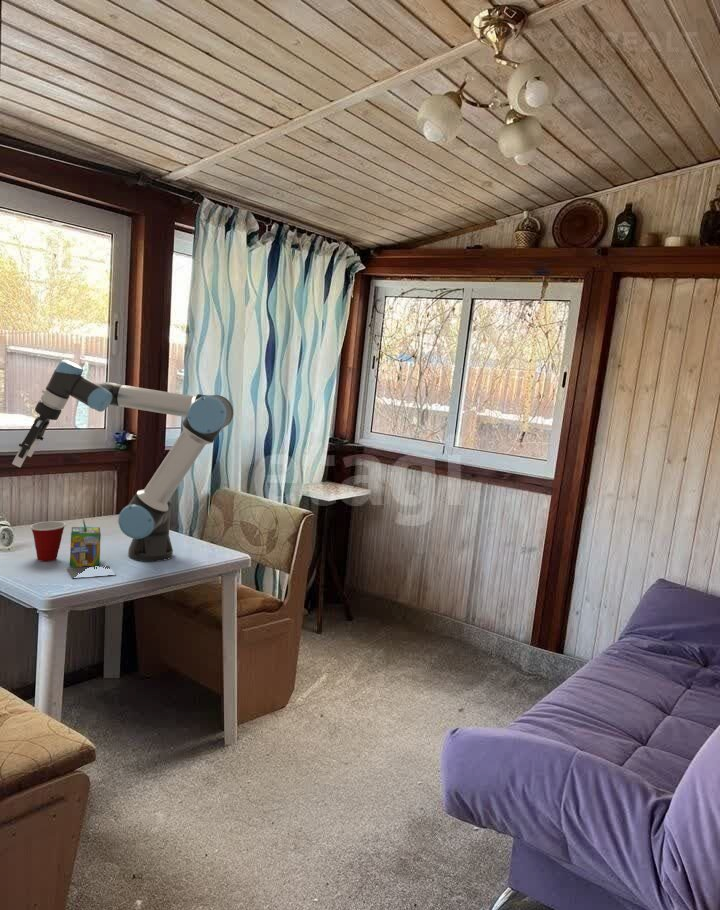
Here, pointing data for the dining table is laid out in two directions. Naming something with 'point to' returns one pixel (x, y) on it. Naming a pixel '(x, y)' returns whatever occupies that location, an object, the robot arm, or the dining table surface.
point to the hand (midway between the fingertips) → (21, 460)
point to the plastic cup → (47, 539)
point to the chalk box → (85, 546)
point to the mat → (80, 570)
